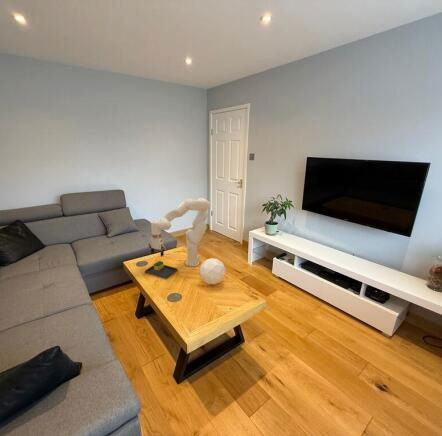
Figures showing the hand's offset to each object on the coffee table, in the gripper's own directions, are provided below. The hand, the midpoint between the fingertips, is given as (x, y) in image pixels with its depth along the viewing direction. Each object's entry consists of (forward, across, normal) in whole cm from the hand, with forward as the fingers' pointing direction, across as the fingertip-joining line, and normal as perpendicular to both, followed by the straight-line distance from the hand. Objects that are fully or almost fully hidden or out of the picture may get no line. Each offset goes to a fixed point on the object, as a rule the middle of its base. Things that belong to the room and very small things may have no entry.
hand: (157, 254), depth 195 cm
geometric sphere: (+13, -50, -2) cm, 52 cm away
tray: (+13, -5, +2) cm, 15 cm away
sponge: (+13, 0, -1) cm, 13 cm away
